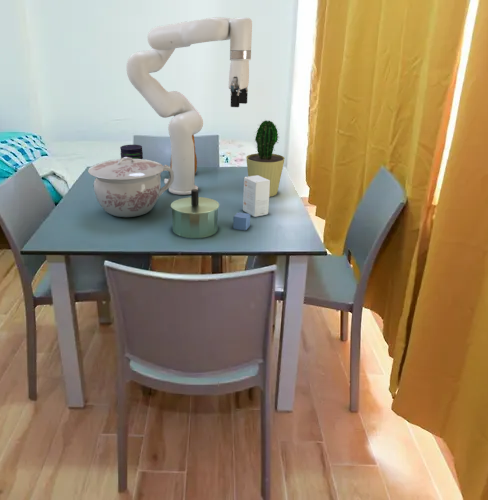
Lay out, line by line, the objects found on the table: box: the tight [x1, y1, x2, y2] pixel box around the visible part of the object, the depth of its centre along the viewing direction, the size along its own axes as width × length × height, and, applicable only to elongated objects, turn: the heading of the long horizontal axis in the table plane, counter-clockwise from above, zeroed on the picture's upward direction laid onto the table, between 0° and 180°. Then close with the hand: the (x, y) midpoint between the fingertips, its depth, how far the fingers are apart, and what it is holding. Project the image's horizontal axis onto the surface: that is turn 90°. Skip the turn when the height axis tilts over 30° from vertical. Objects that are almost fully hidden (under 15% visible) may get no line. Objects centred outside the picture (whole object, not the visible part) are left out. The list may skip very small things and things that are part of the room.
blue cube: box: [232, 212, 251, 231], centre depth 168 cm, size 4×4×4 cm
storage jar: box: [120, 144, 144, 159], centre depth 219 cm, size 10×10×15 cm
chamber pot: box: [87, 157, 174, 218], centre depth 180 cm, size 28×28×21 cm
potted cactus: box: [245, 119, 286, 198], centre depth 197 cm, size 15×15×30 cm
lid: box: [170, 189, 220, 215], centre depth 163 cm, size 16×16×6 cm
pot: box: [171, 208, 219, 239], centre depth 165 cm, size 15×15×8 cm
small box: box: [242, 175, 270, 218], centre depth 179 cm, size 8×6×13 cm
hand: (239, 105), depth 182 cm, fingers open, 9 cm apart
